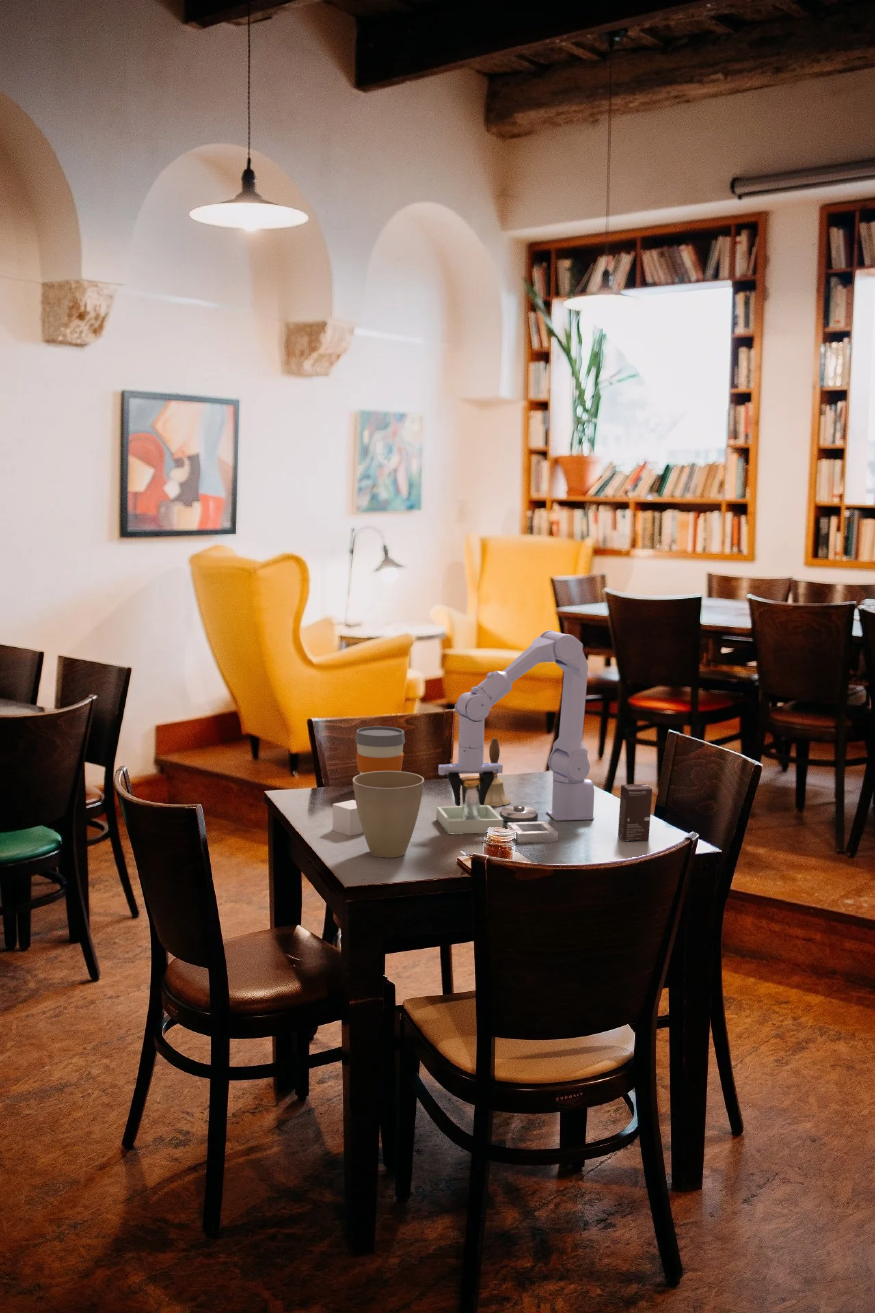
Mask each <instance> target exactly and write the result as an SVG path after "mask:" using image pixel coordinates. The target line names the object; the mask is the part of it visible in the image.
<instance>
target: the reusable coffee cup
mask: <svg viewBox="0 0 875 1313" xmlns="http://www.w3.org/2000/svg"><path fill="white" fill-rule="evenodd" d="M354 741H355V743H356V750H357V751H356V752H355V754H356V756H355V757H356V763H357V764H356V765H357V770H358V771H359V774H363V773H368V772H375V771H401V772H402V767H403V761H404V756H405V755H404V752H403V750H404V744H405V743H406V739H405V730H403V729H401V728H398V727H393V726H366V727H361V728H358V729H356V733H355V740H354Z"/></svg>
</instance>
